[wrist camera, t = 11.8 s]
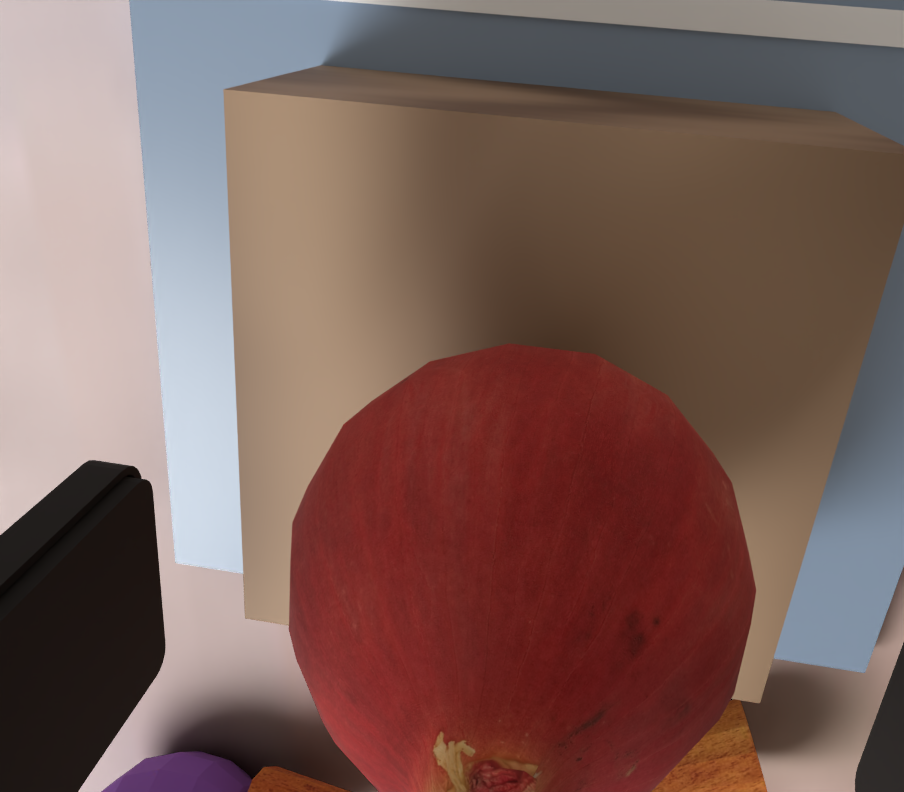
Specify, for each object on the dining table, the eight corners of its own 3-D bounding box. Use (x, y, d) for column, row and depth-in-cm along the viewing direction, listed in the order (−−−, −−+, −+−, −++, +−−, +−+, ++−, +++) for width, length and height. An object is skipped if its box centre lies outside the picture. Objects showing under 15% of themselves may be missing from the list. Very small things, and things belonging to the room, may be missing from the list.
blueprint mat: (1103, -50, 15) (1131, -52, 14) (856, 650, 22) (865, 676, 21) (139, -116, 17) (117, -122, 16) (187, 545, 24) (173, 565, 23)
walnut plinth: (835, 112, 16) (924, 156, 12) (725, 549, 21) (759, 703, 16) (320, 65, 17) (223, 89, 13) (318, 489, 22) (245, 618, 17)
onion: (743, 555, 15) (876, 1080, 8) (428, 604, 16) (293, 1081, 9) (674, 231, 13) (769, 536, 6) (320, 321, 14) (35, 653, 7)
